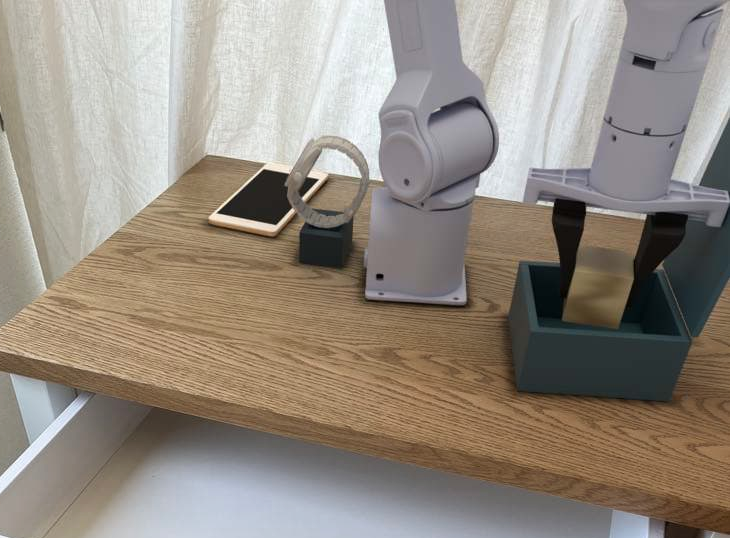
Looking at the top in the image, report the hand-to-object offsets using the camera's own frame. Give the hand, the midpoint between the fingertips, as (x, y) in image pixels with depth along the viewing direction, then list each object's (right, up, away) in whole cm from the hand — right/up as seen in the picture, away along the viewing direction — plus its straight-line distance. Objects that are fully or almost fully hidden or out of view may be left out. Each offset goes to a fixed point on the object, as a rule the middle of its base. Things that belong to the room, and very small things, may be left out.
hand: (595, 296), depth 68 cm
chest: (0, -4, +4) cm, 6 cm away
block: (0, -1, +1) cm, 1 cm away
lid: (+7, +4, -5) cm, 10 cm away
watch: (-22, +9, +16) cm, 29 cm away
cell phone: (-28, +18, +24) cm, 41 cm away
